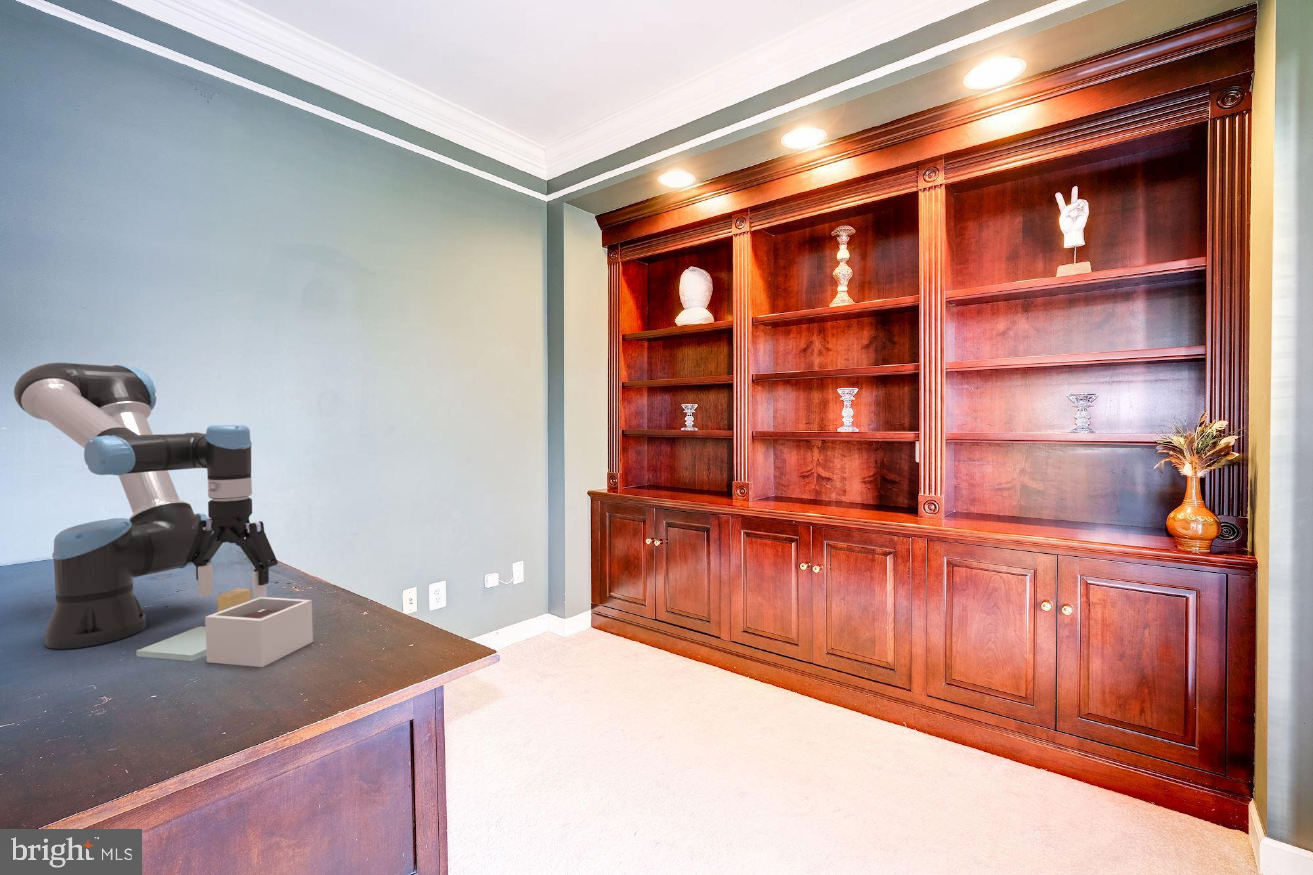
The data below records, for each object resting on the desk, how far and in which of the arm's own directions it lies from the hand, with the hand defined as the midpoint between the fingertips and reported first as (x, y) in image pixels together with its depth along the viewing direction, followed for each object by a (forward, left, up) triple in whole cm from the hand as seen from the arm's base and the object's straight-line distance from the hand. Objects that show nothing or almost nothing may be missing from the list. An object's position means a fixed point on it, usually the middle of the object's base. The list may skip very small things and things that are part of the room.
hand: (232, 597), depth 125 cm
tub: (+16, -9, -7) cm, 19 cm away
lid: (0, -6, -7) cm, 9 cm away
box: (+16, -9, -7) cm, 20 cm away
